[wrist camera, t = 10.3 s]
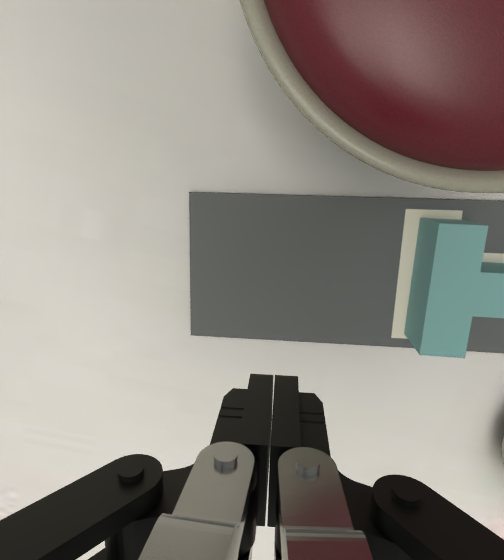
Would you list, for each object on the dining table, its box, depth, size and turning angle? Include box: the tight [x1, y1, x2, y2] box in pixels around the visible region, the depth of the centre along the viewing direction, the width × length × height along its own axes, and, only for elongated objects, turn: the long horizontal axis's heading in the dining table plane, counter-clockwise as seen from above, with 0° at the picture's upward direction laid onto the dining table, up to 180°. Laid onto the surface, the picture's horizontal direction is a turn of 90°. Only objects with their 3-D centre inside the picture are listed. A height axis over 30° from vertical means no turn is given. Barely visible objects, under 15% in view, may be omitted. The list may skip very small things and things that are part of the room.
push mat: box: [189, 192, 504, 353], centre depth 31 cm, size 12×28×1 cm, turn 88°
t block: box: [404, 218, 504, 358], centre depth 29 cm, size 9×9×4 cm
